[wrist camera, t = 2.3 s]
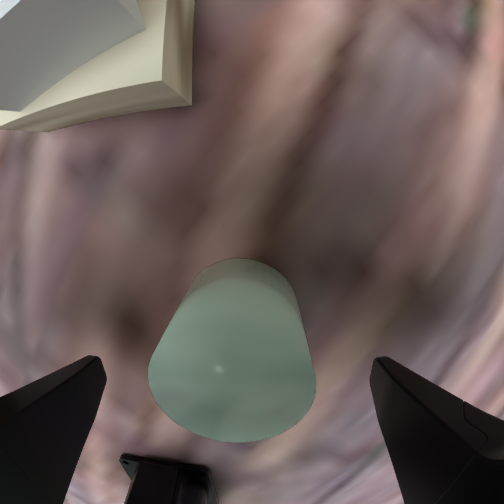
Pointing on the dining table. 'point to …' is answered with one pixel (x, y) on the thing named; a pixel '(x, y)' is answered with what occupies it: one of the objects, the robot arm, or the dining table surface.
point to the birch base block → (121, 75)
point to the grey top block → (56, 41)
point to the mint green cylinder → (235, 355)
